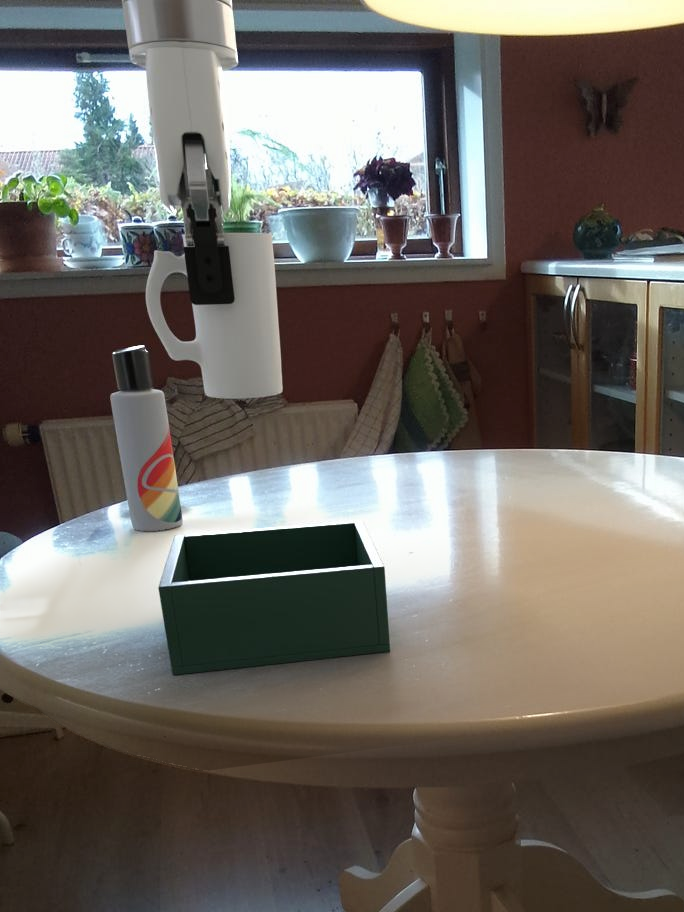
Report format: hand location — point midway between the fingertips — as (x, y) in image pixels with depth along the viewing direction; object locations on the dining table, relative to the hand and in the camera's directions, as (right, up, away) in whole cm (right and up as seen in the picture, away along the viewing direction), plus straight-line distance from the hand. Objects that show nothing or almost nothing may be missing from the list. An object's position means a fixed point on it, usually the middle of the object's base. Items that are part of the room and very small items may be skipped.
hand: (213, 301), depth 73 cm
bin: (+5, -26, +1) cm, 26 cm away
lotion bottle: (-17, -13, +35) cm, 41 cm away
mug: (0, -7, +3) cm, 7 cm away
